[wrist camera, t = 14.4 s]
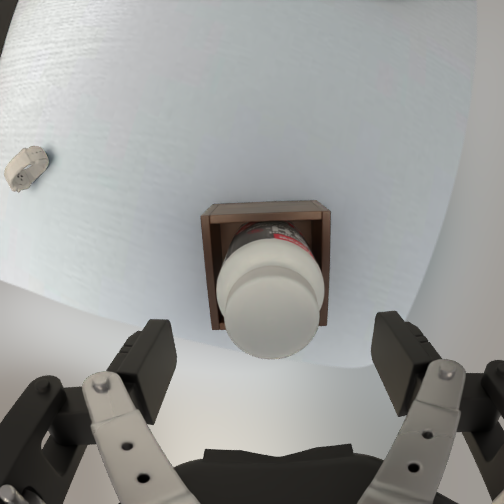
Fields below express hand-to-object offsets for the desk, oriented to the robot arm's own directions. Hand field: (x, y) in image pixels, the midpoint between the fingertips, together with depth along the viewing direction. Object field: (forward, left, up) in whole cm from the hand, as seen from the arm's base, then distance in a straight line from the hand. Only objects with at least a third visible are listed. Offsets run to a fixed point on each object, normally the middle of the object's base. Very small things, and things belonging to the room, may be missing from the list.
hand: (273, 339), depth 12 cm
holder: (0, 0, -11) cm, 11 cm away
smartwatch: (+18, -8, -12) cm, 23 cm away
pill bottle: (0, 0, -11) cm, 11 cm away
